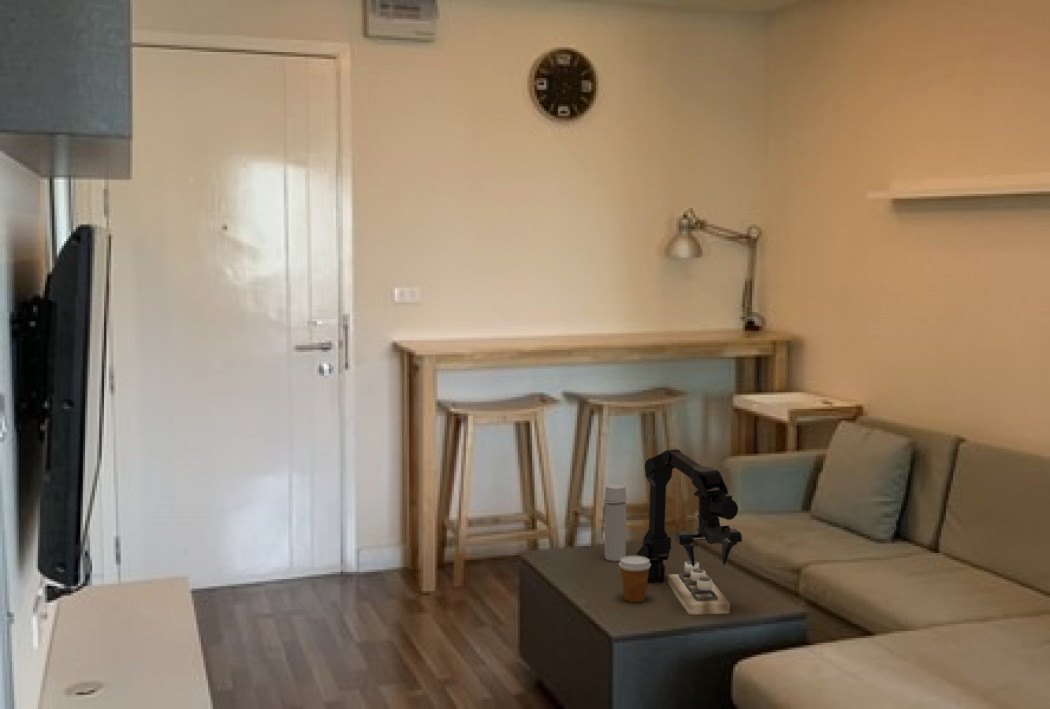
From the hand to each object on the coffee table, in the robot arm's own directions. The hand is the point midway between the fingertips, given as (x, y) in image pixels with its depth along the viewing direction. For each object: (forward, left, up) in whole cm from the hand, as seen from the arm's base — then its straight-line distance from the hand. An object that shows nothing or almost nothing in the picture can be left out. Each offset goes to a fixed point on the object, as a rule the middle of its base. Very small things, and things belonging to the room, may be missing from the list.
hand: (708, 565), depth 313 cm
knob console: (-1, +8, -12) cm, 15 cm away
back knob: (-1, +16, -7) cm, 17 cm away
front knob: (-1, 0, -7) cm, 7 cm away
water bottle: (-20, +50, -13) cm, 55 cm away
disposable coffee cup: (-20, +9, -13) cm, 25 cm away
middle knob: (-1, +8, -7) cm, 10 cm away
